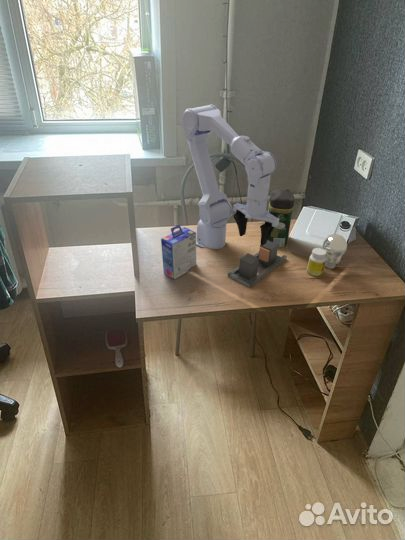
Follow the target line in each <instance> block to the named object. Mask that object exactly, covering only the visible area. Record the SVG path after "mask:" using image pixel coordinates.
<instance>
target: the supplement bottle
mask: <svg viewBox="0 0 405 540" xmlns="http://www.w3.org/2000/svg"><path fill="white" fill-rule="evenodd" d="M325 256H326V251H325V250H324V249H323V248H320V247H316V248H313V249H312V251H311V254H310V256H309V259H308V262H307V263H308V264H307V268H306V273H307V274H308V275H309V276H312V277H321V276H322V275H323V272H324V269H325V261H326V258H325Z"/></svg>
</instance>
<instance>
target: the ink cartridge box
mask: <svg viewBox="0 0 405 540" xmlns="http://www.w3.org/2000/svg"><path fill="white" fill-rule="evenodd" d="M176 229H178V230H176ZM175 230H176V231H175ZM170 232H171V233H170V234H168V235H166V236H164V237H161V238H160V242H161V243H160V244H161V254H162V255H161V256H162V267H163V270H162V271H163V274H164V275H166V276H168V277H169V278H171V279H173V280H176V279H177V278H179V277H181V276H183V275H185V274H186V273H188V272H190V269H191V268H193V267H194V266H196V265H197V245H196V242H197V231H194V230H191V229H189V228H187V227H185V226H183V227H182V226H181V225H180V224H177V225H175V226H174V227H173V226H172V228H170Z"/></svg>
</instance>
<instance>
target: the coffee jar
mask: <svg viewBox="0 0 405 540" xmlns="http://www.w3.org/2000/svg"><path fill="white" fill-rule="evenodd" d="M294 202H295V196H294V193H293V192H292V191H290V189H288V188H279V187H278V188H277V187H276V188H275V189H273V190H272V191H271V192H270V195H269V200H268V205H267V212H269V213H270V214H272V215H273V216H275V217H276V218H279V225H277V226H276V227H275V228H274V229H273V230H272V232H271V233H270V235H269V237H268V240H269V241H271V242H273V243H276V244H278V248H285V247H286V246H287V245H288V240H289V236H290V228H291V222H292V217H293V216H292V215H293V211H294V204H295V203H294Z"/></svg>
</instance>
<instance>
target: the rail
mask: <svg viewBox="0 0 405 540" xmlns="http://www.w3.org/2000/svg"><path fill="white" fill-rule="evenodd" d="M252 255H253V256H255V257H258V258H259V251H258V252H256V253H255V254H252ZM286 260H287V255H285V254H284V255H282V256H280V255H278V254H277V256H276V261H275V262H274V263H272V264H271V265H270V266H268V265H265V264H263V263H261V262H259V263H258V271H257V275H256V276H255V277H254V278H252V279H251V280H250V281H249V280H247V279H245V278H243V277H241V276H239V275H238V273H239V265H238V266H236V267H235V268H234V269H232V270H230V271H229V272H227V277H228V278H229V279H231V280H233V281H235V282H237V283H239V284H241V285H243V286H246V287H247V288H249V289H251V287H253V286H254V285H256V284H257V283H258V282H260V281H261V280H262V279H264V277H266V276H267V275H268V274H270V273H271V272H272V271H273V270H274V269H277V267H278V266H280V265H281V264H283V262H285V261H286Z"/></svg>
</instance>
